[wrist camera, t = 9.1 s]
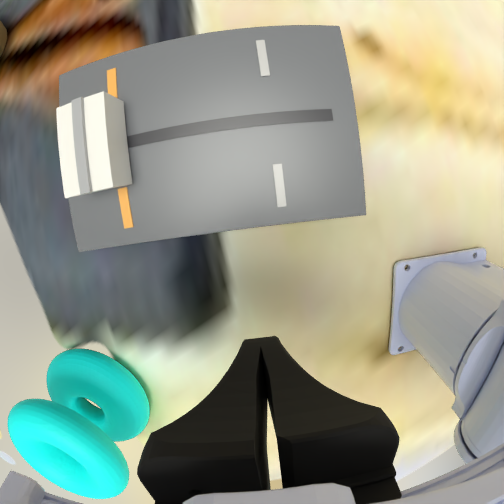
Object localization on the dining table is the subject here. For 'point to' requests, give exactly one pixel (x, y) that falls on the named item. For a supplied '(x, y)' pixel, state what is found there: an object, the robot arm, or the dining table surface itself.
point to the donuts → (82, 424)
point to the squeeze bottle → (2, 37)
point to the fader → (93, 144)
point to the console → (225, 135)
